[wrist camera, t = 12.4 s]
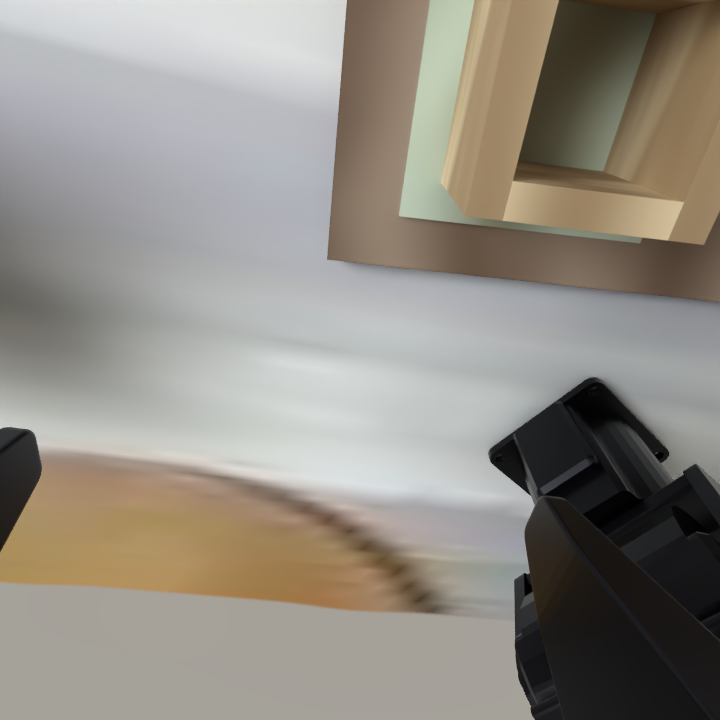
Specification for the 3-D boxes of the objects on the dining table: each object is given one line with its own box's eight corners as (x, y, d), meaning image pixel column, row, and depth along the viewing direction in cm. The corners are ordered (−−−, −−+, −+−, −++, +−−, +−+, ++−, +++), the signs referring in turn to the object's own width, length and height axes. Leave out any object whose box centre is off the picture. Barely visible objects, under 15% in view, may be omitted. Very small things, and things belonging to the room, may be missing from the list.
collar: (703, -24, 14) (849, -69, 10) (620, 204, 18) (704, 245, 13) (484, -55, 14) (537, -116, 10) (440, 182, 17) (465, 216, 13)
